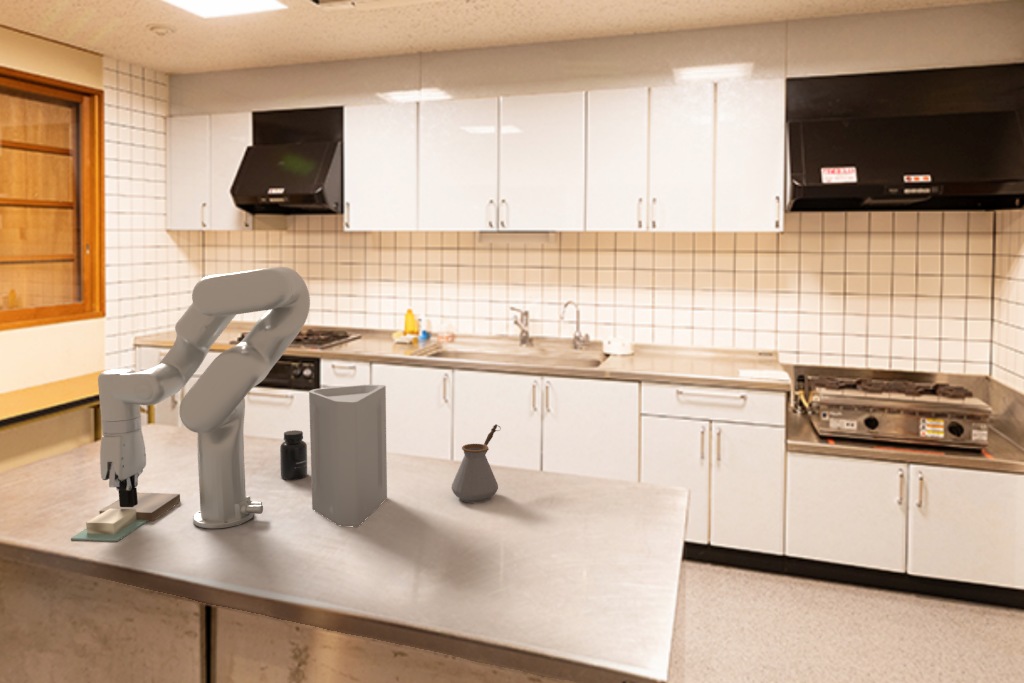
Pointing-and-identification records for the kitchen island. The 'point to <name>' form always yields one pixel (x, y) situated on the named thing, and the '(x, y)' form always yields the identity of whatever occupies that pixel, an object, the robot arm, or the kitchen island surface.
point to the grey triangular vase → (348, 452)
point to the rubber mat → (109, 537)
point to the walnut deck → (149, 505)
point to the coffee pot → (475, 474)
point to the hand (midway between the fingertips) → (128, 505)
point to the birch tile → (111, 521)
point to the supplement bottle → (293, 456)
